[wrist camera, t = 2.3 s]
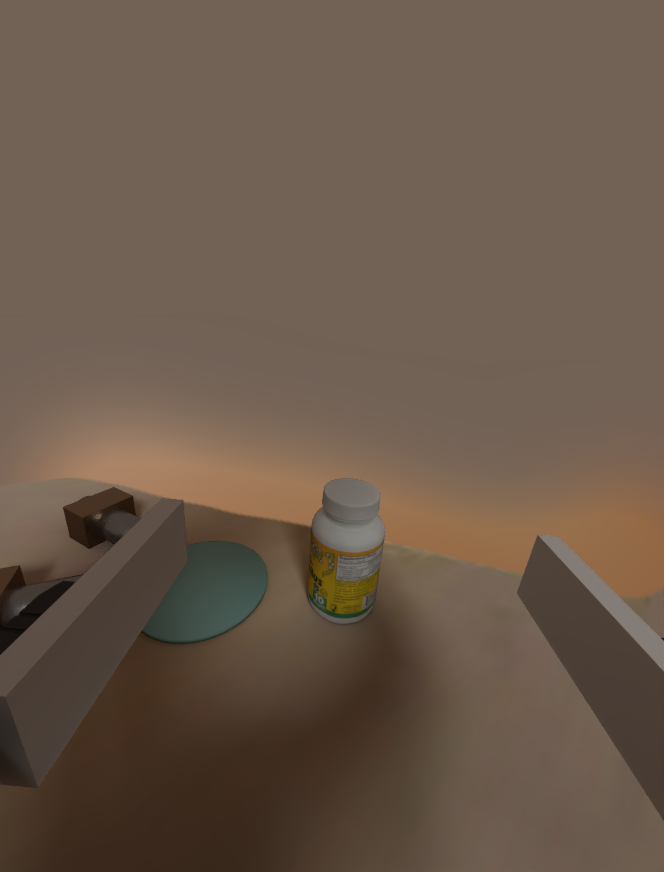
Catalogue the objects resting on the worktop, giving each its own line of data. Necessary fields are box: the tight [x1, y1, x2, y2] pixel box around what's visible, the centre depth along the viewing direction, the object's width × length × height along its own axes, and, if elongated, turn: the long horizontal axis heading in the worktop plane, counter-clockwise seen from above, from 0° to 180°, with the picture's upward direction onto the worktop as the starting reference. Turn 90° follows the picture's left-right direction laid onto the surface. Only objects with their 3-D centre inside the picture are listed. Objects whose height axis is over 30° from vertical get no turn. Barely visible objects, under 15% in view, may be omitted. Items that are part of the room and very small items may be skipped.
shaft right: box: [63, 487, 141, 549], centre depth 29 cm, size 10×4×3 cm, turn 63°
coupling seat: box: [142, 541, 267, 644], centre depth 26 cm, size 10×10×1 cm
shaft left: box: [0, 565, 84, 631], centre depth 21 cm, size 10×4×3 cm, turn 113°
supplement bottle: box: [308, 478, 385, 624], centre depth 24 cm, size 5×5×10 cm
